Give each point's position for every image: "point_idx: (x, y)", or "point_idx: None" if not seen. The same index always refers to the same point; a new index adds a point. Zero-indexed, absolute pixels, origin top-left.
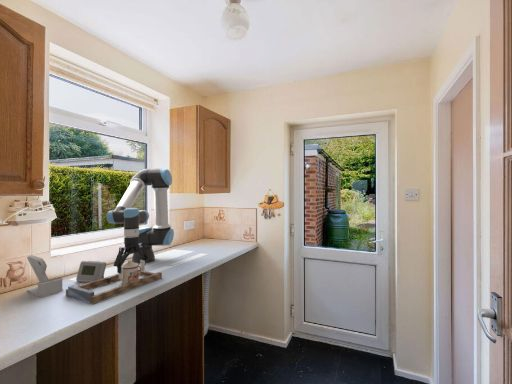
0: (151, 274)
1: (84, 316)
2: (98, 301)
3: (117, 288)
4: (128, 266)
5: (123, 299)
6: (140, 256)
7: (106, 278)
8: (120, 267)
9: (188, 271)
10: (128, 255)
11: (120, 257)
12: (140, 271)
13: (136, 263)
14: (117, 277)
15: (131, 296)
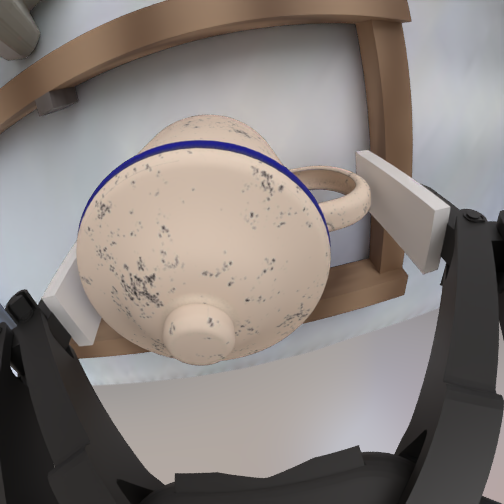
0: (381, 226)
1: None
2: None
3: (83, 357)
4: (155, 348)
5: (111, 376)
6: (445, 305)
7: (26, 105)
8: (67, 332)
9: None
10: (154, 478)
11: (38, 455)
12: (337, 191)
13: (295, 310)
14: (138, 53)
15: (141, 375)
